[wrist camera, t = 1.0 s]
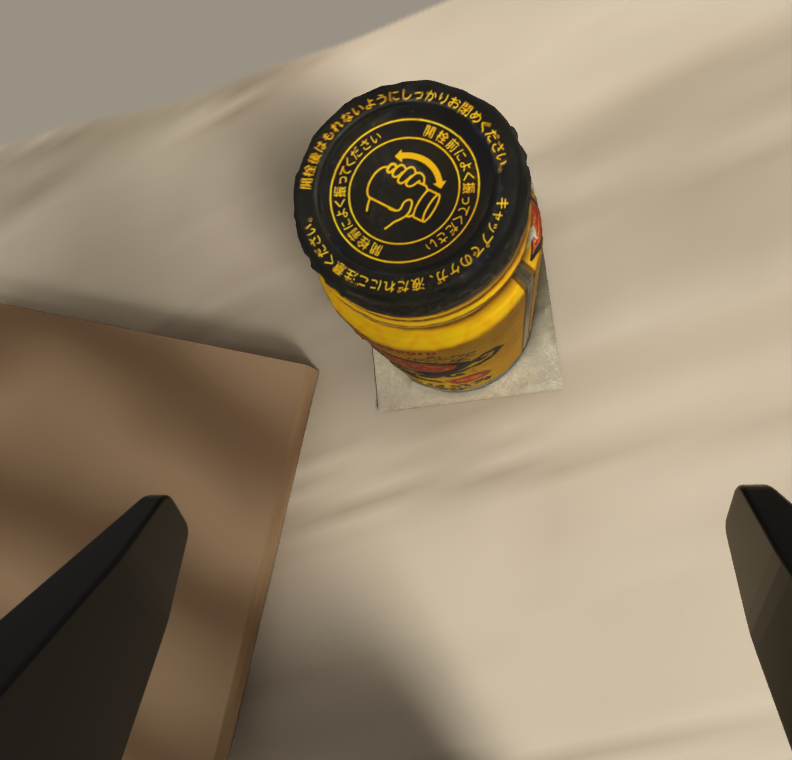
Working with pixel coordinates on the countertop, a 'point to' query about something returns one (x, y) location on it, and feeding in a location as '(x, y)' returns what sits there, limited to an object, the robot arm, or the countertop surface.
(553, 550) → the countertop surface
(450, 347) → the condiment
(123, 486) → the walnut board
